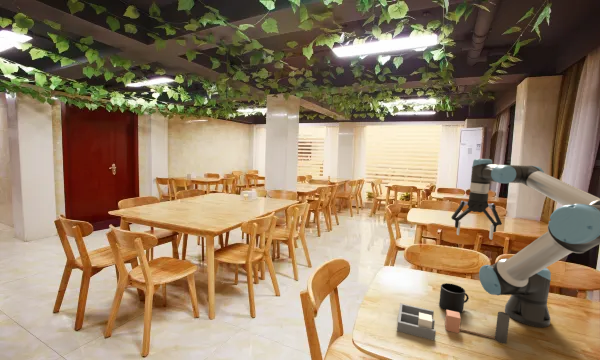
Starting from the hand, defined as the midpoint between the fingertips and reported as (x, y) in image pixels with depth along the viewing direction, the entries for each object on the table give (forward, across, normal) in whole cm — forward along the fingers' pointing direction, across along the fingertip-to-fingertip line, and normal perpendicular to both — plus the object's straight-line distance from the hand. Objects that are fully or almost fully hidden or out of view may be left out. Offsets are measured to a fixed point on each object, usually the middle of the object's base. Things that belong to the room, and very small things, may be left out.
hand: (473, 236), depth 137 cm
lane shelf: (+29, +24, +37) cm, 52 cm away
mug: (+29, +8, +16) cm, 34 cm away
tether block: (+29, +3, +34) cm, 45 cm away
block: (+29, +21, +40) cm, 54 cm away
